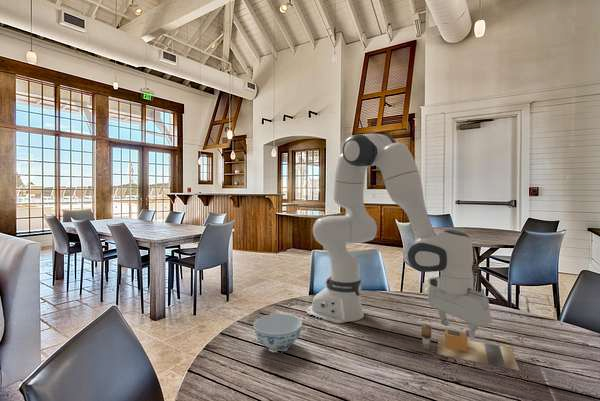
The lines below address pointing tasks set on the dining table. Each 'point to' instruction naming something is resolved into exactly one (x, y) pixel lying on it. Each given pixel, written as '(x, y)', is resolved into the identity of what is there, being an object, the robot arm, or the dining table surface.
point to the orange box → (455, 340)
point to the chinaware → (277, 331)
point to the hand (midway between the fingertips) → (457, 330)
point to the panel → (481, 353)
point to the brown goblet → (426, 336)
